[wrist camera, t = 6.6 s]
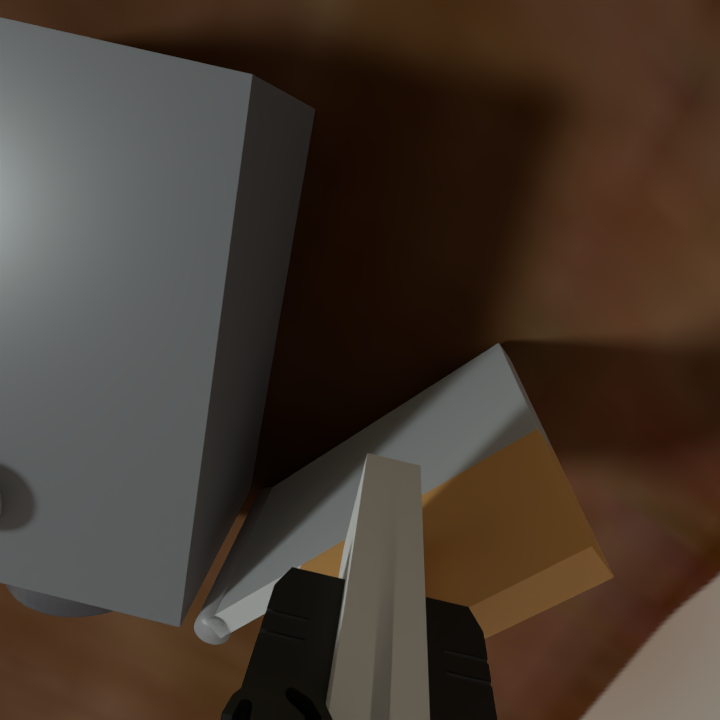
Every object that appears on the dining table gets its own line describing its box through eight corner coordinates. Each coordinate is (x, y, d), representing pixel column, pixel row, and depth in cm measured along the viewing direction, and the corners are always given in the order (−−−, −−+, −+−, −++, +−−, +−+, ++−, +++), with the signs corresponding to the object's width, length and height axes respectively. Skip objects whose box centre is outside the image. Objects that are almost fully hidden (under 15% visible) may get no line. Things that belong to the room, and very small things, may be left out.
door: (495, 338, 22) (586, 538, 10) (513, 362, 22) (619, 584, 10) (252, 495, 25) (108, 779, 13) (268, 514, 25) (142, 810, 14)
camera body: (43, 47, 20) (-231, -40, 12) (315, 109, 20) (238, 66, 11) (36, 475, 26) (-147, 623, 18) (244, 525, 26) (160, 700, 17)
